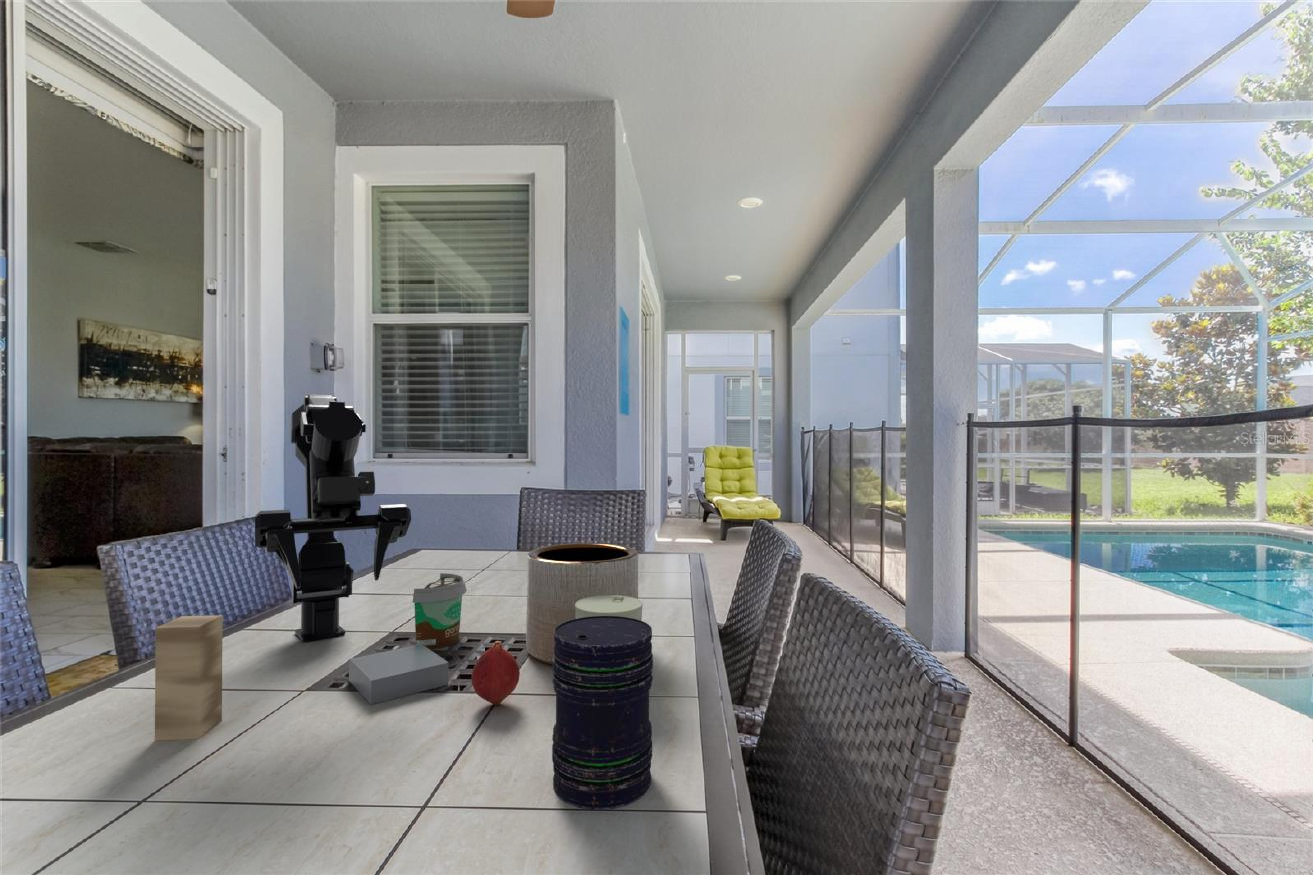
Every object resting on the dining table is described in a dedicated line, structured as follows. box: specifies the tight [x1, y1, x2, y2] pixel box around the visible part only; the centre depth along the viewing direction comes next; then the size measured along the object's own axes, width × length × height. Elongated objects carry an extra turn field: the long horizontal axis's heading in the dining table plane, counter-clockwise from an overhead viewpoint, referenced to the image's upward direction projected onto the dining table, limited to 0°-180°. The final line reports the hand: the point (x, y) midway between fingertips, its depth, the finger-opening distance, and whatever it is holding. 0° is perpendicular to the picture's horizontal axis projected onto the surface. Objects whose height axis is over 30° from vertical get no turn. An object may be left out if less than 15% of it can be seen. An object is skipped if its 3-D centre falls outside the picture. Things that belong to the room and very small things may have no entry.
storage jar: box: [551, 616, 654, 811], centre depth 62 cm, size 10×10×15 cm
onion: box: [470, 640, 521, 706], centre depth 79 cm, size 6×6×8 cm
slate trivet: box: [348, 644, 450, 705], centre depth 86 cm, size 10×10×3 cm
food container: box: [412, 572, 467, 651], centre depth 104 cm, size 12×6×10 cm, turn 179°
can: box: [575, 595, 644, 621], centre depth 85 cm, size 9×9×12 cm
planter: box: [525, 542, 639, 666], centre depth 100 cm, size 18×18×16 cm
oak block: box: [154, 614, 224, 742], centre depth 72 cm, size 4×4×12 cm
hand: (338, 583), depth 82 cm, fingers open, 9 cm apart
